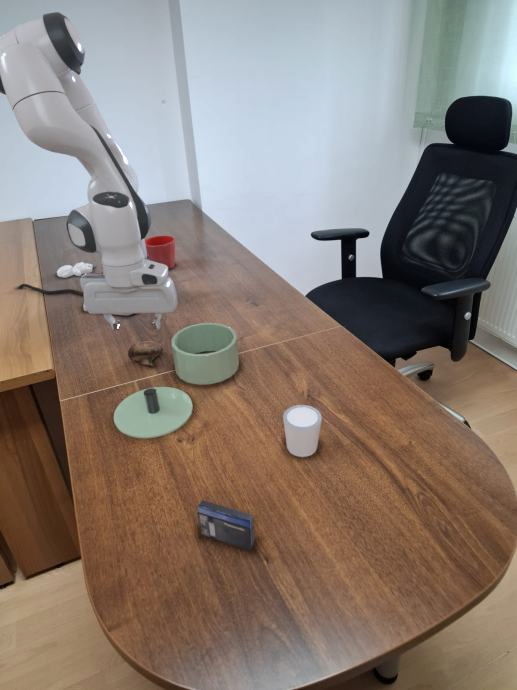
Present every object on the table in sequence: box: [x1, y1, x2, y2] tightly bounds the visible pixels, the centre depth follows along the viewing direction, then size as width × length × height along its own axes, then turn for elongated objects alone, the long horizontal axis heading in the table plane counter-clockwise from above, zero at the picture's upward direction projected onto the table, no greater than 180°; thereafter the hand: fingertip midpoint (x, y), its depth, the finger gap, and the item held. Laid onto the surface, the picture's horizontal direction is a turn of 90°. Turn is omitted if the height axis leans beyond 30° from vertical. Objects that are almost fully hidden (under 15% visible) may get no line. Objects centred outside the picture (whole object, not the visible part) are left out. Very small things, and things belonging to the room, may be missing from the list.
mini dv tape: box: [197, 499, 256, 551], centre depth 68 cm, size 8×2×6 cm, turn 69°
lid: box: [113, 386, 194, 439], centre depth 93 cm, size 16×16×6 cm
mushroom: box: [127, 340, 164, 367], centre depth 110 cm, size 8×8×6 cm
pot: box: [170, 322, 240, 386], centre depth 106 cm, size 15×15×8 cm
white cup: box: [282, 404, 323, 458], centre depth 83 cm, size 7×7×7 cm
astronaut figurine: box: [56, 261, 94, 279], centre depth 162 cm, size 9×12×3 cm
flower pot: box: [145, 235, 176, 270], centre depth 162 cm, size 11×11×10 cm
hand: (136, 328), depth 106 cm, fingers open, 8 cm apart
